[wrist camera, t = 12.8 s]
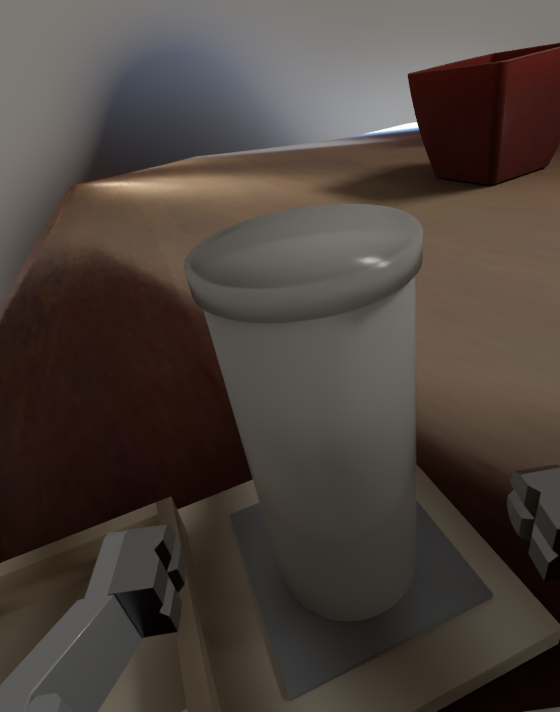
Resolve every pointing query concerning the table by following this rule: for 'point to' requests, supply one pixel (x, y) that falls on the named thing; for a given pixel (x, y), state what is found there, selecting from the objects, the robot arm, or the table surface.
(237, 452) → the table surface
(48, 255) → the table surface
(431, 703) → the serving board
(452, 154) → the plant pot
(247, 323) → the tall white canister
